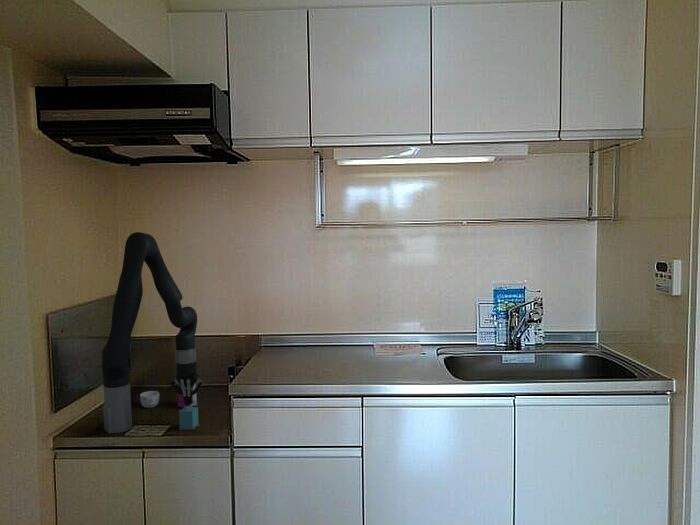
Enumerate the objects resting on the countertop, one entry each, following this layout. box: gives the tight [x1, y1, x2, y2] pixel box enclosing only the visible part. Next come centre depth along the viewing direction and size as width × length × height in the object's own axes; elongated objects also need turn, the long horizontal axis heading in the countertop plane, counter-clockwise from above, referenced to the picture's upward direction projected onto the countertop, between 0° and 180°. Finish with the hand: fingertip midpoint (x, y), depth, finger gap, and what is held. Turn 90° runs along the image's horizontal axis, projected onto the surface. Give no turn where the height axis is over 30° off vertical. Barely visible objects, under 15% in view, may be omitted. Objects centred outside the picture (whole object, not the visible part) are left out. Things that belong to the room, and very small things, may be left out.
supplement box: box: [176, 382, 198, 409], centre depth 243 cm, size 6×6×12 cm
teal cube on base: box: [178, 406, 199, 429], centre depth 219 cm, size 5×5×7 cm
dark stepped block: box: [178, 423, 201, 431], centre depth 219 cm, size 6×6×6 cm
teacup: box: [139, 390, 160, 409], centre depth 244 cm, size 10×8×5 cm
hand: (188, 405), depth 218 cm, fingers closed
